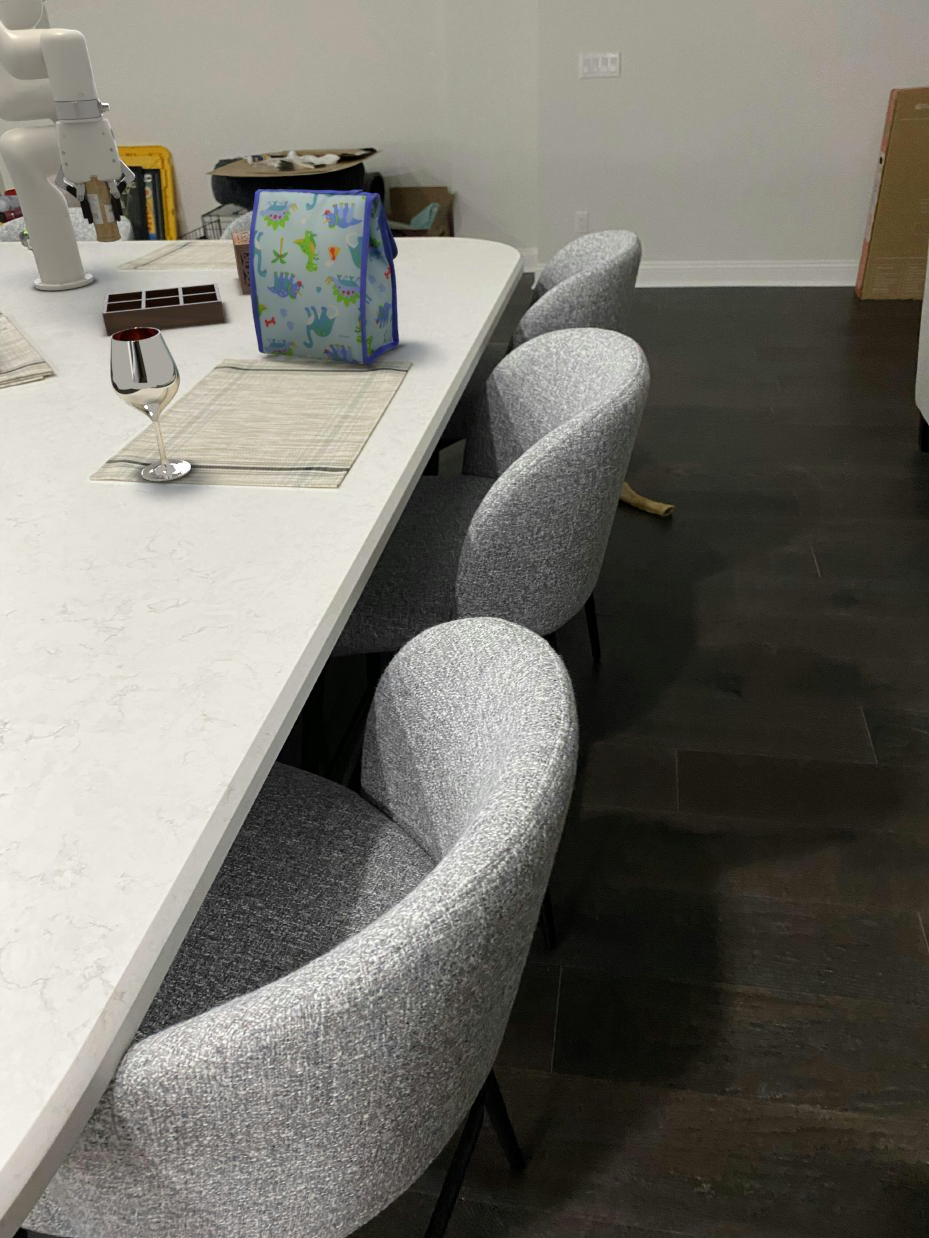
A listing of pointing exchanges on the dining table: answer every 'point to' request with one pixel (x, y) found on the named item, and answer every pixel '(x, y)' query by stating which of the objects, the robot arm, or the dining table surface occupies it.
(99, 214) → the sprinkles bottle
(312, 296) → the lunch bag
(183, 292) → the tray
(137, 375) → the wineglass
